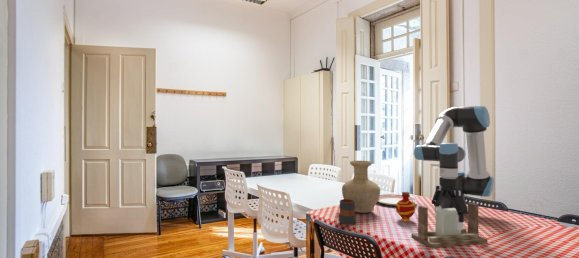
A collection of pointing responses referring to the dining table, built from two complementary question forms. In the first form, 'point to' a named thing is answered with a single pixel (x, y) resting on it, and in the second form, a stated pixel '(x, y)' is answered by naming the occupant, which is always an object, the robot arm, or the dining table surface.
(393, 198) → the dinner plate
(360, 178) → the vase
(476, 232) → the wooden rack
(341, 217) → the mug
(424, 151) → the robot arm
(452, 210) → the cream rectangular block
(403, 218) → the potion bottle
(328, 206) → the dining table surface
